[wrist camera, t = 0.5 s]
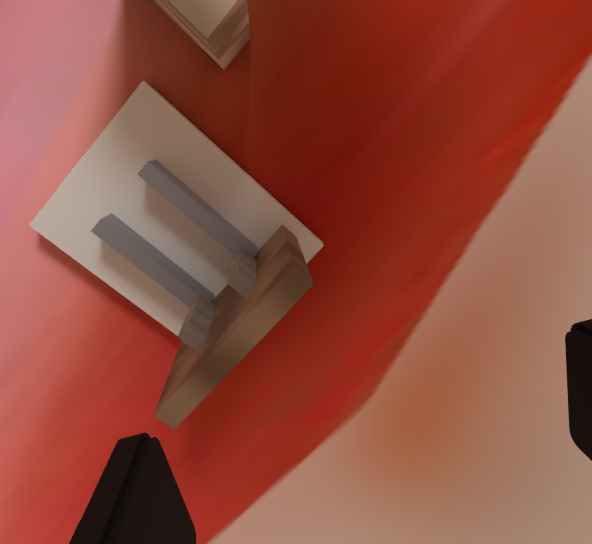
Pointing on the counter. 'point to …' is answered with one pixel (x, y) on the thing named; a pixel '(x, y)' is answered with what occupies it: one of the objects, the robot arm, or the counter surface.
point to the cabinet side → (233, 322)
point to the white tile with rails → (162, 210)
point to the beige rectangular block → (212, 25)
